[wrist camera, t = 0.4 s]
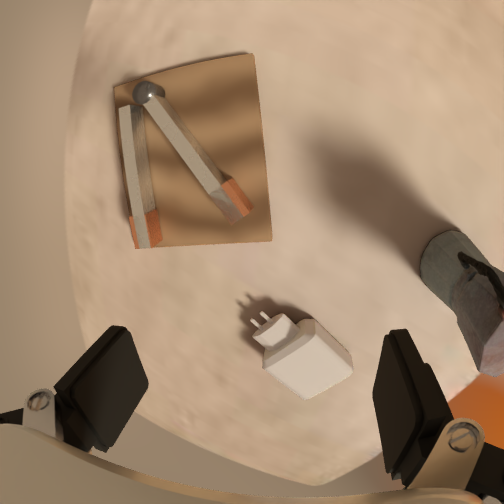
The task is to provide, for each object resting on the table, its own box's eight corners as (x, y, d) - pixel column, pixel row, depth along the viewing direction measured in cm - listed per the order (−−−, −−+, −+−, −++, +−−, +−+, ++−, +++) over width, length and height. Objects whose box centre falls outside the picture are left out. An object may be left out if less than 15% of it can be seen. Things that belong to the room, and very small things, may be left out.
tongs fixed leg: (127, 111, 30) (114, 109, 27) (144, 106, 30) (131, 104, 27) (146, 241, 36) (135, 248, 33) (162, 239, 35) (152, 247, 33)
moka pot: (443, 315, 35) (503, 414, 16) (387, 246, 33) (460, 348, 14) (487, 271, 31) (566, 350, 13) (437, 193, 29) (548, 249, 11)
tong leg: (140, 95, 29) (128, 92, 26) (158, 79, 28) (147, 74, 26) (232, 221, 33) (226, 228, 30) (253, 206, 32) (249, 212, 29)
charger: (283, 285, 37) (350, 351, 39) (235, 323, 40) (303, 380, 42) (281, 304, 33) (354, 373, 35) (227, 343, 36) (302, 402, 38)
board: (119, 88, 30) (114, 87, 29) (254, 56, 27) (252, 53, 26) (140, 245, 38) (136, 248, 37) (272, 238, 35) (271, 241, 34)
